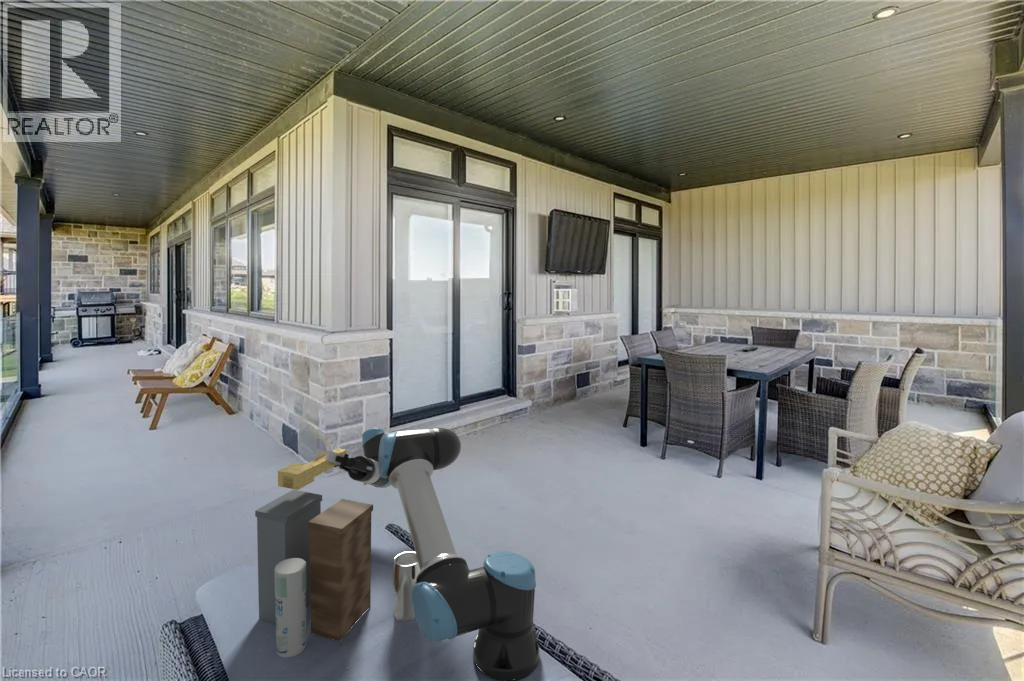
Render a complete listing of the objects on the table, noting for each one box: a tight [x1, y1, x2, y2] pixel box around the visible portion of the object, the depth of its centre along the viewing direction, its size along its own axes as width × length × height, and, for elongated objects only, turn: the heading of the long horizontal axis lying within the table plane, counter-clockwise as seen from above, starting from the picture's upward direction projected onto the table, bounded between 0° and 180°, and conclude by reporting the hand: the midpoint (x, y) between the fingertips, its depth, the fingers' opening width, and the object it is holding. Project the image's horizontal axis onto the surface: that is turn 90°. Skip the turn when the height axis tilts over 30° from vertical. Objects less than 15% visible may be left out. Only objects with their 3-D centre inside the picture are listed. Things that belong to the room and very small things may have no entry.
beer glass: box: [392, 551, 420, 622], centre depth 126 cm, size 7×7×15 cm
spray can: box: [274, 558, 307, 658], centre depth 113 cm, size 6×6×20 cm
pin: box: [277, 448, 348, 491], centre depth 134 cm, size 22×6×4 cm, turn 163°
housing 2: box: [308, 498, 374, 642], centre depth 122 cm, size 13×9×28 cm
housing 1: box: [254, 489, 323, 625], centre depth 126 cm, size 13×9×28 cm
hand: (322, 454), depth 136 cm, fingers closed on pin, 3 cm apart
